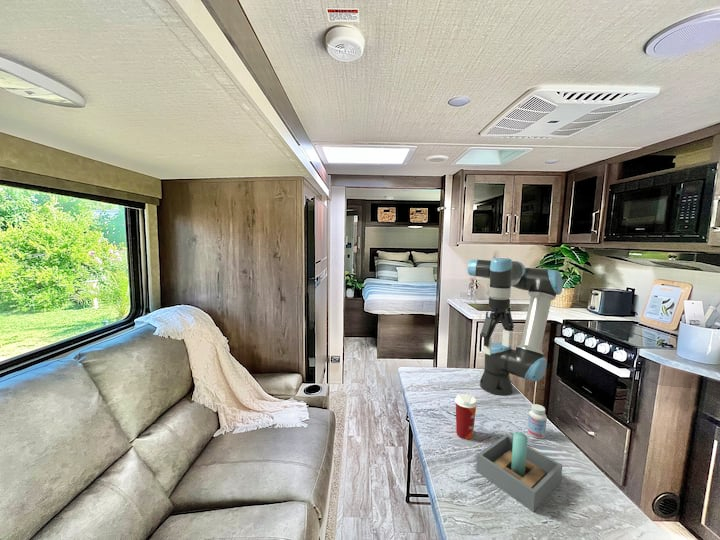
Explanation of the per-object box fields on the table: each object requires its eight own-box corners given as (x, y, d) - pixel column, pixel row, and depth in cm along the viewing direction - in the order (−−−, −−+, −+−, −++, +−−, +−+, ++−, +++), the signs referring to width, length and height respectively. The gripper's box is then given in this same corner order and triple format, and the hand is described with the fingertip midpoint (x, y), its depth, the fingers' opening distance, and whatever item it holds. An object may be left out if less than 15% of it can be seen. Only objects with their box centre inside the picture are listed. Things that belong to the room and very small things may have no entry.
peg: (514, 469, 99) (517, 430, 98) (527, 477, 96) (529, 437, 94) (508, 475, 97) (510, 435, 95) (520, 483, 94) (523, 442, 92)
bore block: (509, 457, 105) (509, 449, 104) (546, 480, 95) (546, 471, 95) (490, 472, 98) (490, 464, 98) (527, 499, 88) (528, 490, 88)
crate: (505, 449, 109) (506, 433, 108) (560, 482, 94) (562, 464, 94) (476, 471, 99) (477, 454, 98) (533, 512, 84) (534, 492, 83)
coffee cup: (477, 443, 112) (479, 405, 110) (454, 440, 114) (456, 403, 112) (473, 429, 120) (475, 393, 119) (452, 426, 122) (453, 391, 120)
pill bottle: (525, 434, 117) (527, 407, 116) (529, 427, 122) (531, 401, 120) (543, 441, 113) (545, 413, 112) (546, 433, 117) (549, 407, 116)
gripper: (506, 292, 127) (504, 340, 129) (471, 300, 112) (469, 354, 115) (524, 295, 121) (521, 345, 123) (490, 303, 106) (487, 360, 109)
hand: (496, 349), depth 119 cm, fingers open, 13 cm apart
